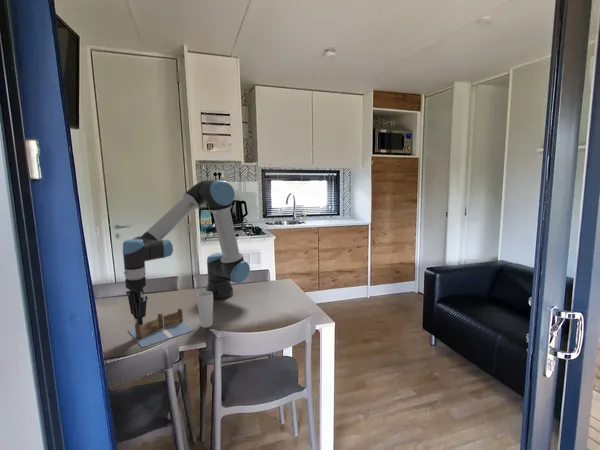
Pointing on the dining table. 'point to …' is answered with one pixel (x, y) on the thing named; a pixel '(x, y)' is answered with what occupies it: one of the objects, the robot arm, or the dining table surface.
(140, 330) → the fence panel
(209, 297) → the drinking glass
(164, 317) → the fence fixed
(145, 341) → the mat
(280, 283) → the dining table surface
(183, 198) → the robot arm
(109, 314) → the dining table surface
